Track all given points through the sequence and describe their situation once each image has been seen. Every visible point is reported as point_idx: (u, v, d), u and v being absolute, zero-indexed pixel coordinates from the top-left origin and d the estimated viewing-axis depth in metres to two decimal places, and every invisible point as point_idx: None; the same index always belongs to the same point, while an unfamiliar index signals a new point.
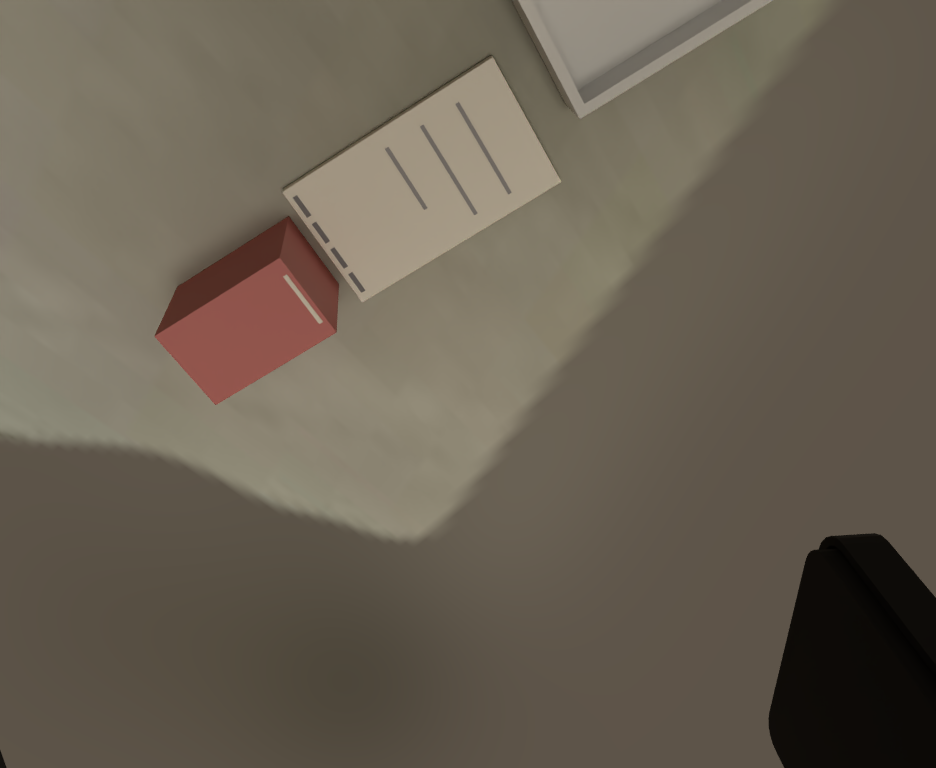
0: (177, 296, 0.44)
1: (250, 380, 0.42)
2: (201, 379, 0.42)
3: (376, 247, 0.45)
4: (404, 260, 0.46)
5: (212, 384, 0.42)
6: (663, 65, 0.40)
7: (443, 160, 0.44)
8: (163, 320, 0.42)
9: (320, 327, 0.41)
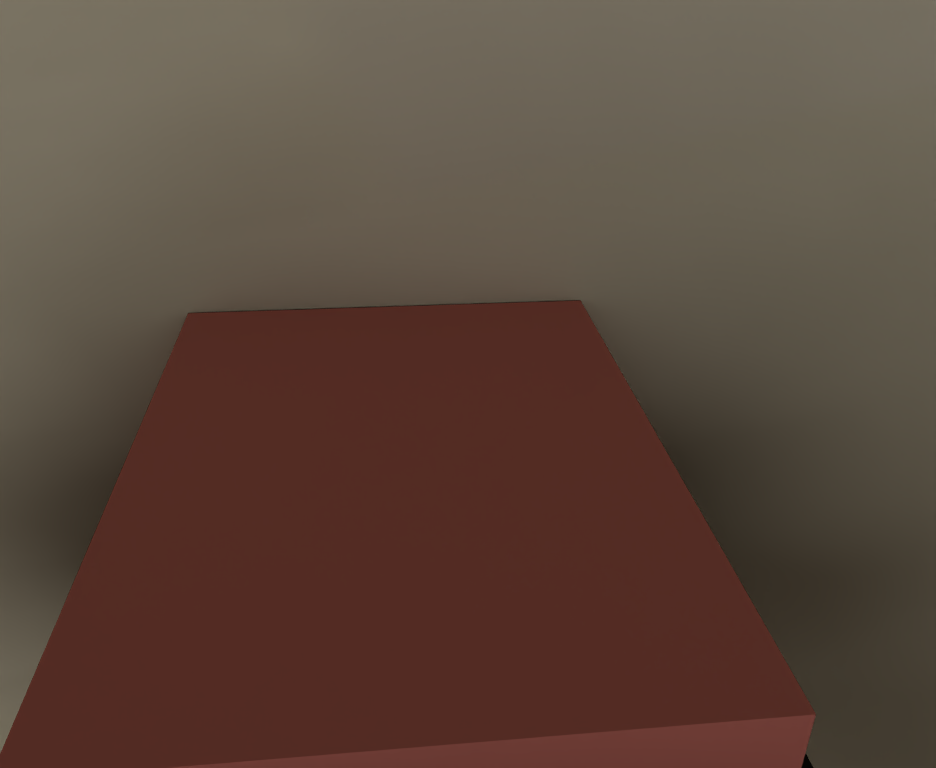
0: None
1: None
2: None
3: None
4: None
5: None
6: None
7: None
8: None
9: None
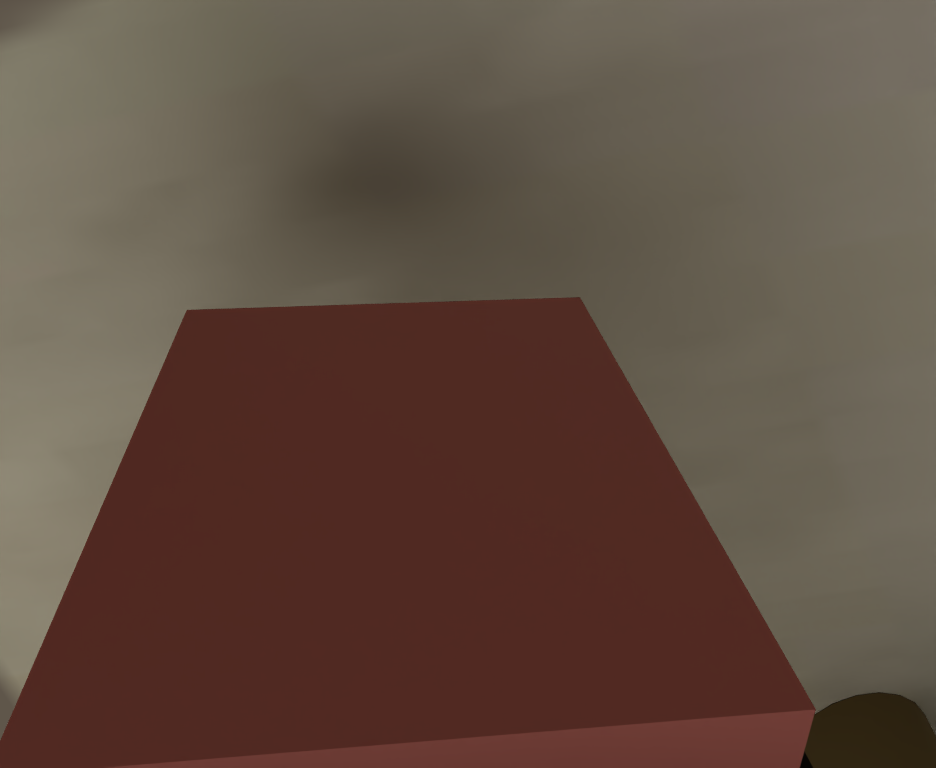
0: None
1: None
2: None
3: None
4: None
5: None
6: None
7: None
8: None
9: None
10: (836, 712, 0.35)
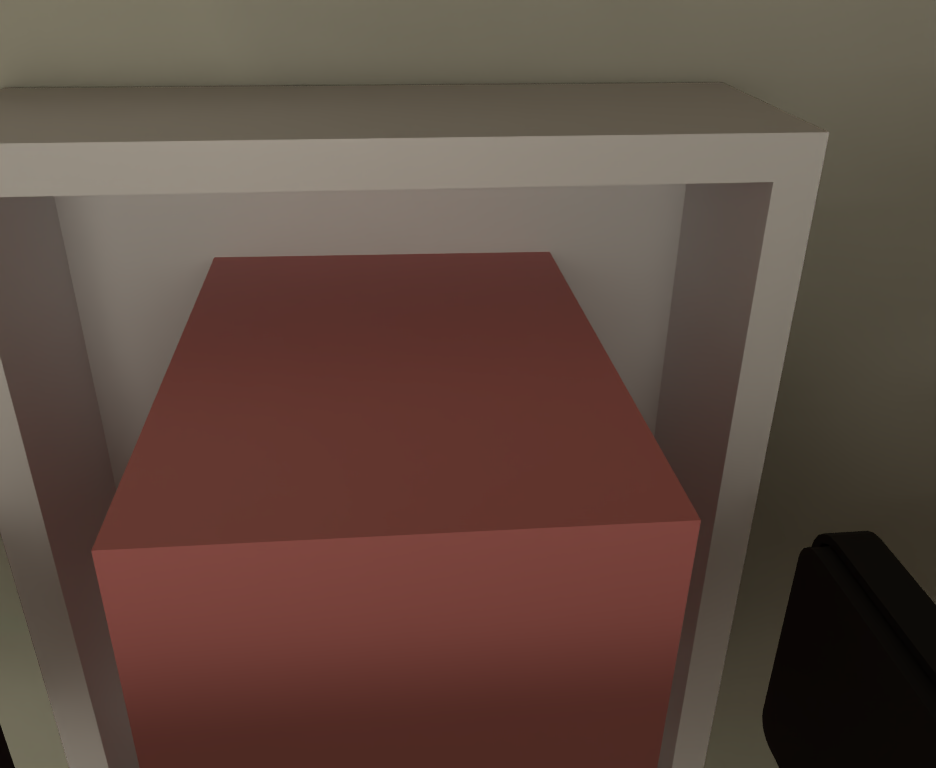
0: None
1: (158, 762, 0.07)
2: (306, 575, 0.06)
3: None
4: None
5: (241, 606, 0.07)
6: (8, 531, 0.10)
7: None
8: None
9: None
10: None
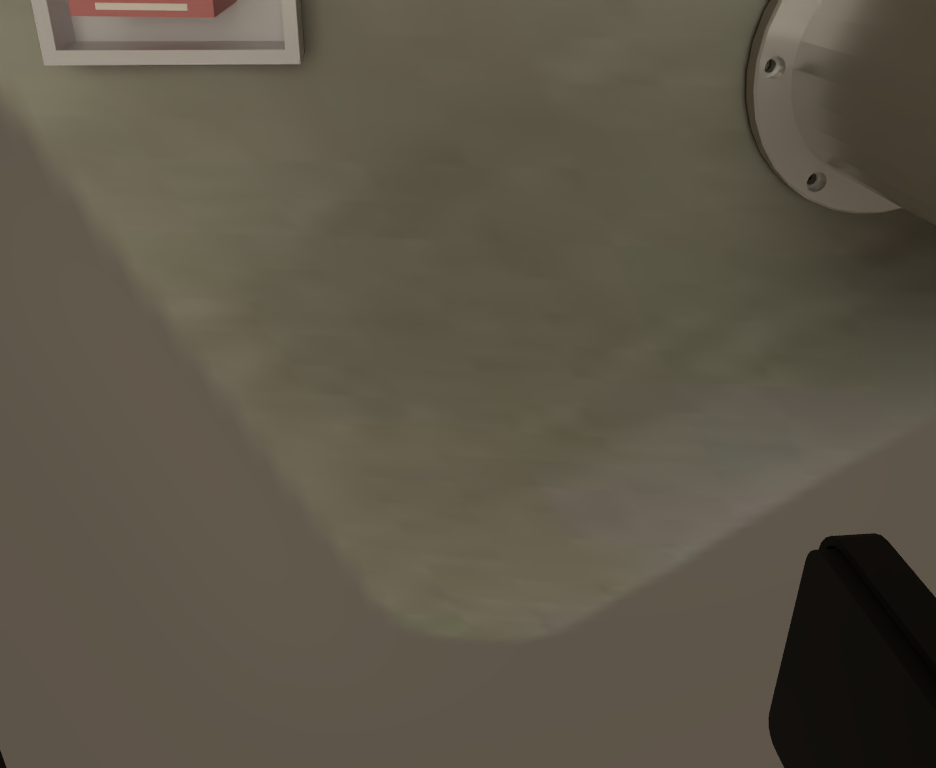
0: None
1: None
2: None
3: None
4: None
5: None
6: None
7: None
8: None
9: (88, 0, 0.28)
10: None
